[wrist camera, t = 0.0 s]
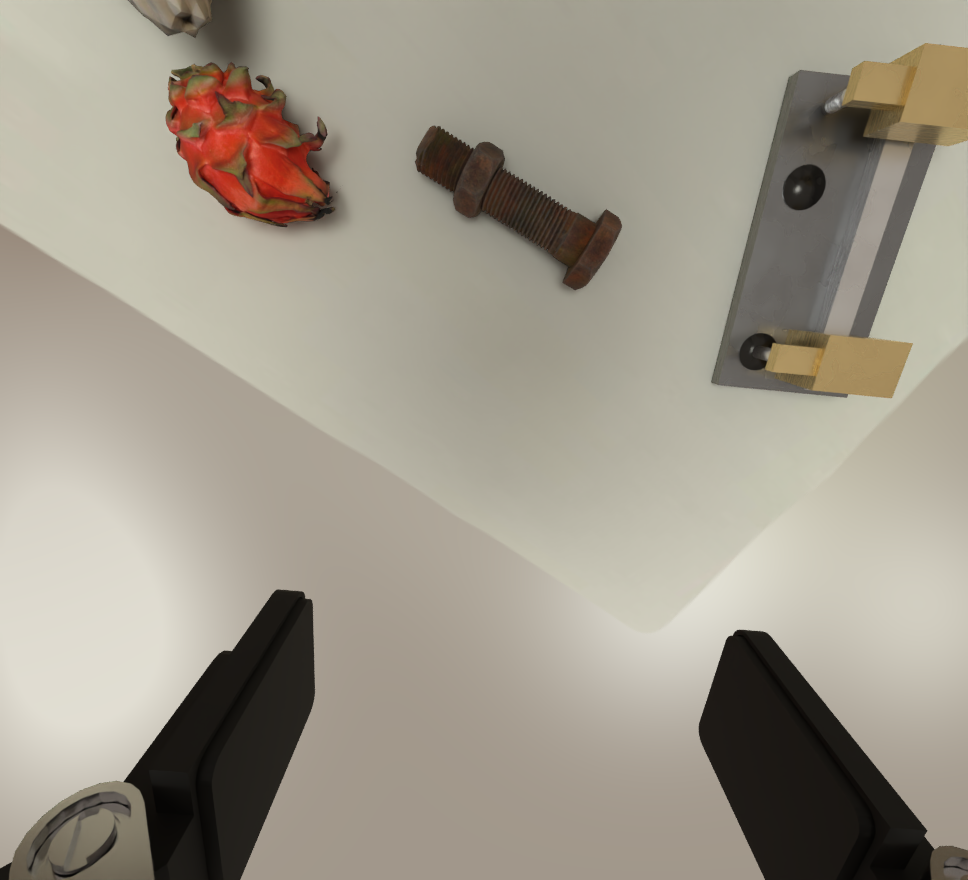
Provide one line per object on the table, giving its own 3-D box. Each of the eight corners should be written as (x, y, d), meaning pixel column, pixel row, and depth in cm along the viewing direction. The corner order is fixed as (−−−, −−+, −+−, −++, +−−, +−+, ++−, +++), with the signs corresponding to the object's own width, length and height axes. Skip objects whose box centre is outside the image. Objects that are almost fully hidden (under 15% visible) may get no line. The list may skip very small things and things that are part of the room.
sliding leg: (827, 68, 31) (875, 37, 27) (957, 83, 31) (1024, 54, 27) (808, 136, 32) (852, 116, 28) (933, 150, 33) (994, 132, 29)
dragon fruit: (215, 97, 35) (351, 212, 39) (134, 167, 32) (290, 283, 36) (207, -12, 27) (377, 144, 31) (102, 67, 25) (303, 227, 29)
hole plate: (789, 77, 33) (851, 34, 27) (940, 94, 33) (1032, 55, 27) (711, 382, 40) (747, 397, 34) (836, 394, 40) (893, 411, 34)
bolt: (435, 151, 36) (596, 252, 38) (404, 199, 35) (572, 301, 37) (445, 85, 31) (633, 207, 32) (408, 139, 29) (606, 263, 31)
